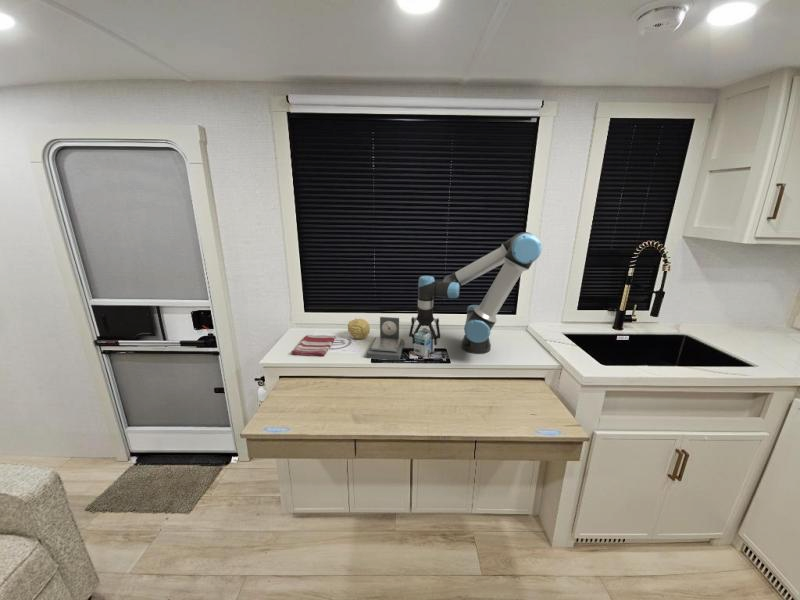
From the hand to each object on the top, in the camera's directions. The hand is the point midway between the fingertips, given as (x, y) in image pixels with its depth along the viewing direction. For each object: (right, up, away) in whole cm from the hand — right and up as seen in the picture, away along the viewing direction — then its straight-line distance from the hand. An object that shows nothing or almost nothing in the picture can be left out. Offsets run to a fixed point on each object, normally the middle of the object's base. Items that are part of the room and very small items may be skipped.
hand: (424, 349), depth 166 cm
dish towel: (-57, 0, +6) cm, 57 cm away
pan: (-19, +2, 0) cm, 20 cm away
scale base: (-19, -1, +2) cm, 19 cm away
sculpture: (-35, +4, +18) cm, 40 cm away
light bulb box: (0, -1, 0) cm, 1 cm away
